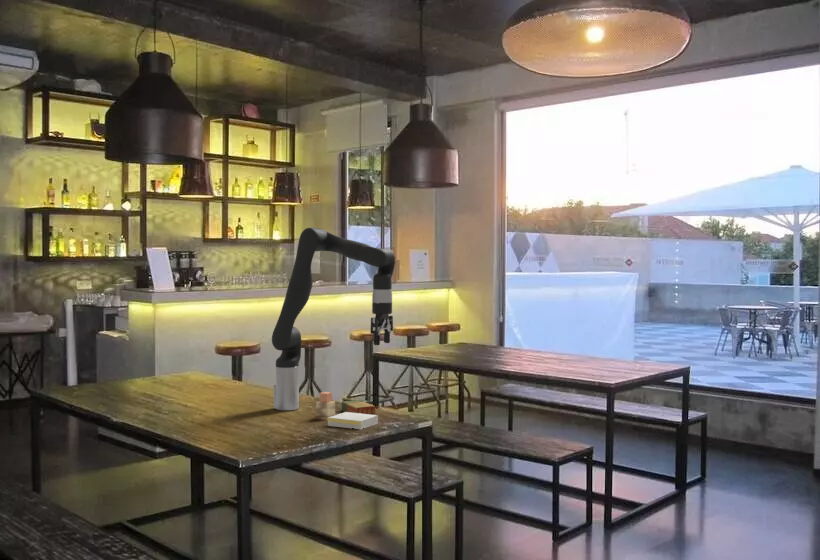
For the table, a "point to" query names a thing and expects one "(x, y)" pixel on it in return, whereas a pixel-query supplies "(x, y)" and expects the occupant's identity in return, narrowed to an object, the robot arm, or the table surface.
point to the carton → (358, 407)
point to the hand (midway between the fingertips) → (381, 344)
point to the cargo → (325, 397)
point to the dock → (353, 420)
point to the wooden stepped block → (325, 410)
